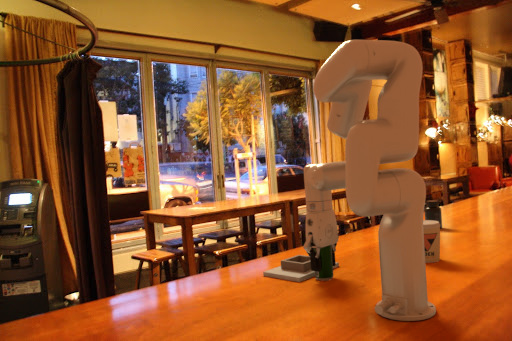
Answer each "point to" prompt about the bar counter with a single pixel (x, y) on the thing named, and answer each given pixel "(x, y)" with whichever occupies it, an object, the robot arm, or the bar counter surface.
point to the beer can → (325, 264)
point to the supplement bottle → (433, 212)
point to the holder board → (293, 269)
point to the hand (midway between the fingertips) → (323, 267)
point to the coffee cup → (431, 240)
